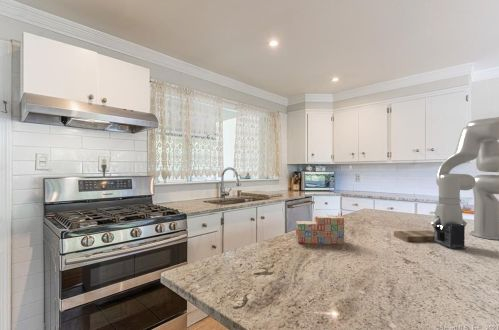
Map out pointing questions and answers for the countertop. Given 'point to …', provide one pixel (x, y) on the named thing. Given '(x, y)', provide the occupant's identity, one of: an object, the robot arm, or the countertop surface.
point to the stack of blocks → (321, 230)
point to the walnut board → (415, 236)
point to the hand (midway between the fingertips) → (448, 240)
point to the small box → (452, 236)
